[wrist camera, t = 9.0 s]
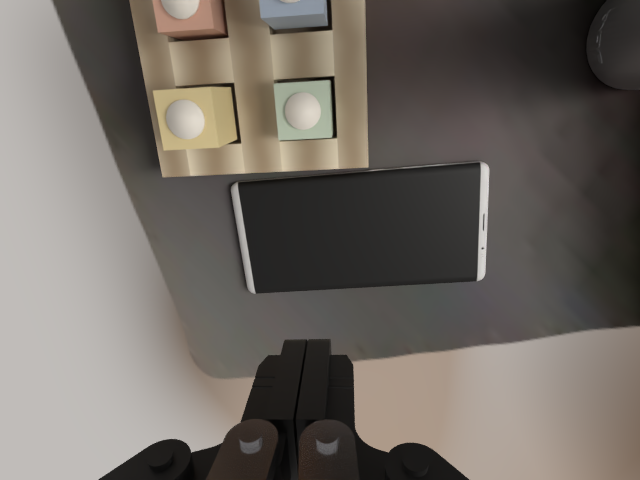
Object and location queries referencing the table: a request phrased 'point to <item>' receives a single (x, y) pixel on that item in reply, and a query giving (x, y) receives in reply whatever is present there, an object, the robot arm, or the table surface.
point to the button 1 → (191, 19)
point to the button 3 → (294, 13)
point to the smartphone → (364, 228)
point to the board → (263, 86)
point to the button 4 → (304, 110)
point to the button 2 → (195, 117)
